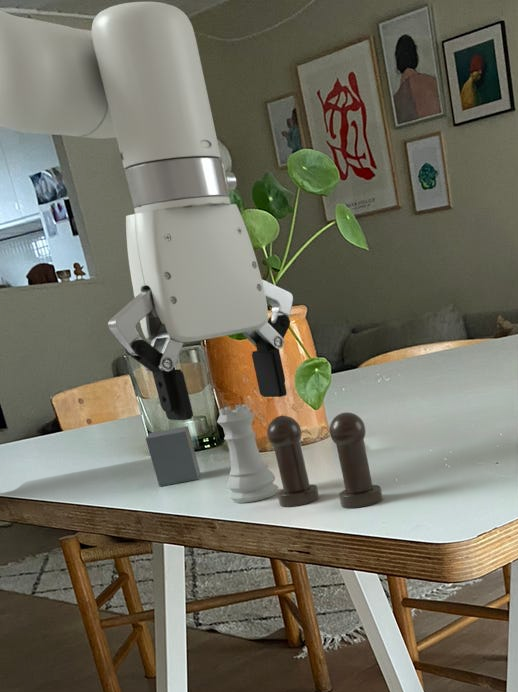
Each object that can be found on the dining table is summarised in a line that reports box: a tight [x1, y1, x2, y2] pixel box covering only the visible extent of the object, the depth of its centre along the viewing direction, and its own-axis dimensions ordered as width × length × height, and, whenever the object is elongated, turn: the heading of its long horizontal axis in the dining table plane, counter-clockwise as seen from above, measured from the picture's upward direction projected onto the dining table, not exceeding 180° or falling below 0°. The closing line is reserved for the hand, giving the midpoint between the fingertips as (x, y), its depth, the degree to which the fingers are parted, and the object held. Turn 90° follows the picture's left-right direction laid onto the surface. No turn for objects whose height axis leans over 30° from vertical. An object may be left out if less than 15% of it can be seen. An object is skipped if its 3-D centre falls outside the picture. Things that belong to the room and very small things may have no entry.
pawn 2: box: [329, 411, 384, 509], centre depth 74 cm, size 3×3×7 cm
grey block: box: [145, 425, 201, 487], centre depth 97 cm, size 4×4×5 cm
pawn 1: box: [266, 415, 320, 508], centre depth 78 cm, size 3×3×7 cm
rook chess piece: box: [216, 403, 279, 504], centre depth 82 cm, size 4×4×8 cm
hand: (229, 407), depth 81 cm, fingers open, 9 cm apart
